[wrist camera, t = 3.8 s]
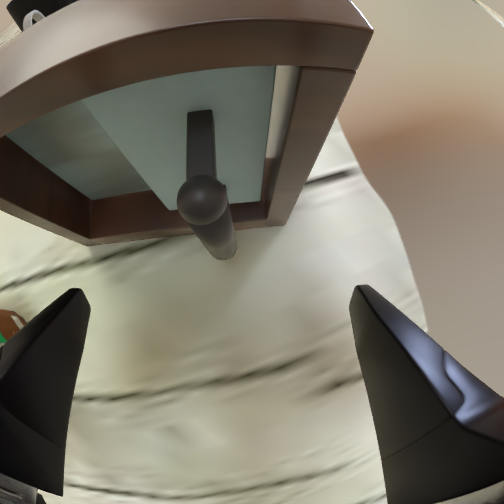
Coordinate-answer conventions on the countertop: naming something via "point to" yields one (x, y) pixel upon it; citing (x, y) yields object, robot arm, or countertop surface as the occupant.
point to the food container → (9, 325)
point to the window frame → (151, 67)
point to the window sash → (195, 142)
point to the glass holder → (34, 10)
